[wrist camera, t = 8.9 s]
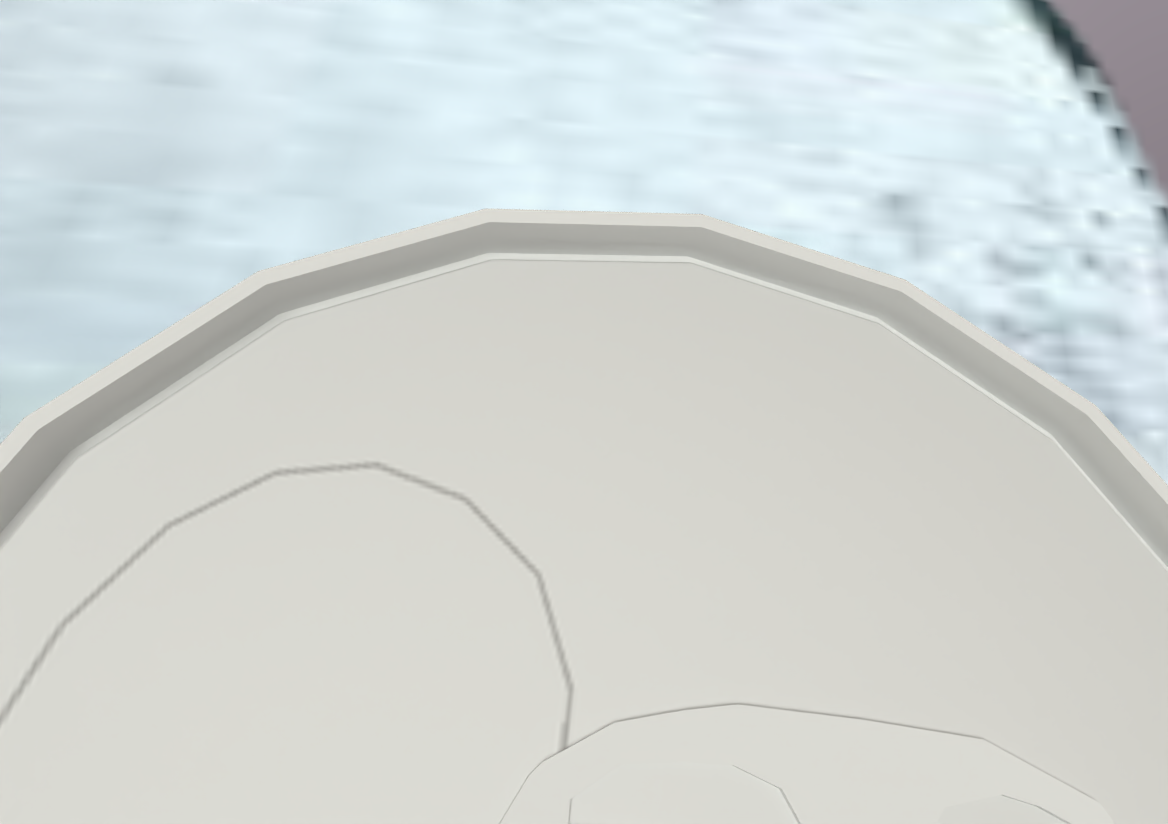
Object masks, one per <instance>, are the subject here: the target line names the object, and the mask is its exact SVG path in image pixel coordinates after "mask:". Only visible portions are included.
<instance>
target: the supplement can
mask: <svg viewBox="0 0 1168 824" xmlns="http://www.w3.org/2000/svg"><path fill="white" fill-rule="evenodd" d="M0 824H1168V485H1167V484H1166V483H1165V482H1164V481H1163V479H1162V478H1161V477H1160V476H1159V475H1158V474H1157V473H1156V472H1155V471H1154V469H1153V468H1152V467H1151V466H1150V465H1149V464H1148V463H1147V462H1146V461H1145V460H1144V458H1143V457H1142V456H1141V455H1140V454H1139V453H1138V452H1137V451H1136V450H1135V448H1134V447H1133V446H1132V445H1131V444H1130V443H1129V442H1128V441H1127V440H1126V438H1125V437H1124V436H1123V435H1122V434H1121V433H1120V432H1119V431H1118V430H1117V429H1116V427H1115V426H1114V425H1113V424H1112V423H1111V422H1110V421H1109V420H1108V419H1107V417H1106V416H1105V415H1104V414H1103V413H1102V412H1101V411H1100V410H1099V409H1098V408H1097V406H1096V405H1094V404H1093V403H1091V402H1090V401H1088V400H1087V399H1085V398H1084V397H1082V396H1081V395H1079V394H1078V393H1076V392H1075V391H1073V390H1072V389H1070V388H1069V387H1067V386H1066V385H1064V384H1063V383H1061V382H1060V381H1058V380H1057V379H1055V378H1053V377H1052V376H1050V375H1049V374H1047V373H1046V372H1044V371H1043V370H1041V369H1040V368H1038V367H1037V366H1035V365H1034V364H1032V363H1031V362H1029V361H1028V360H1026V359H1025V358H1023V357H1022V356H1020V355H1019V354H1017V353H1016V352H1014V351H1013V350H1011V349H1010V348H1008V347H1007V346H1005V345H1003V344H1002V343H1000V342H999V341H997V340H996V339H994V338H993V337H991V336H990V335H988V334H987V333H985V332H984V331H982V330H981V329H979V328H978V327H976V326H975V325H973V324H972V323H970V322H969V321H967V320H966V319H964V318H963V317H961V316H960V315H958V314H957V313H955V312H954V311H952V310H950V309H949V308H947V307H946V306H944V305H943V304H941V303H940V302H938V301H937V300H935V299H934V298H932V297H931V296H929V295H928V294H926V293H925V292H923V291H922V290H920V289H919V288H917V287H916V286H914V285H913V284H911V283H910V282H908V281H907V280H904V279H901V278H898V277H895V276H892V275H889V274H886V273H883V272H880V271H876V270H873V269H870V268H867V267H864V266H861V265H858V264H855V263H852V262H849V261H845V260H842V259H839V258H836V257H833V256H830V255H827V254H824V253H821V252H818V251H815V250H811V249H808V248H805V247H802V246H799V245H796V244H793V243H790V242H787V241H784V240H780V239H777V238H774V237H771V236H768V235H765V234H762V233H759V232H756V231H753V230H750V229H746V228H743V227H740V226H737V225H734V224H731V223H728V222H725V221H722V220H719V219H715V218H712V217H709V216H706V215H703V214H677V213H637V212H598V211H559V210H520V209H482V210H479V211H475V212H472V213H468V214H464V215H461V216H457V217H453V218H450V219H446V220H442V221H439V222H435V223H432V224H428V225H424V226H421V227H417V228H413V229H410V230H406V231H403V232H399V233H395V234H392V235H388V236H384V237H381V238H377V239H373V240H370V241H366V242H363V243H359V244H355V245H352V246H348V247H344V248H341V249H337V250H333V251H330V252H326V253H323V254H319V255H315V256H312V257H308V258H304V259H301V260H297V261H294V262H290V263H286V264H283V265H279V266H275V267H272V268H268V269H264V270H261V271H258V272H256V273H254V274H253V275H251V276H250V277H248V278H246V279H245V280H243V281H242V282H240V283H238V284H237V285H235V286H234V287H232V288H231V289H229V290H227V291H226V292H224V293H223V294H221V295H219V296H218V297H216V298H215V299H213V300H211V301H210V302H208V303H207V304H205V305H203V306H202V307H200V308H199V309H197V310H195V311H194V312H192V313H191V314H189V315H187V316H186V317H184V318H183V319H181V320H179V321H178V322H176V323H175V324H173V325H171V326H170V327H168V328H167V329H165V330H164V331H162V332H160V333H159V334H157V335H156V336H154V337H152V338H151V339H149V340H148V341H146V342H144V343H143V344H141V345H140V346H138V347H136V348H135V349H133V350H132V351H130V352H128V353H127V354H125V355H124V356H122V357H120V358H119V359H117V360H116V361H114V362H112V363H111V364H109V365H108V366H106V367H104V368H103V369H101V370H100V371H98V372H97V373H95V374H93V375H92V376H90V377H89V378H87V379H85V380H84V381H82V382H81V383H79V384H77V385H76V386H74V387H73V388H71V389H69V390H68V391H66V392H65V393H63V394H61V395H60V396H58V397H57V398H55V399H53V400H52V401H50V402H49V403H47V404H45V405H44V406H42V407H41V408H39V409H37V410H36V411H34V412H33V413H31V414H29V415H28V416H26V417H25V418H23V419H22V421H21V422H20V423H19V424H18V425H17V426H16V427H15V428H14V430H13V431H12V432H11V433H10V434H9V435H8V436H7V437H6V439H5V440H4V441H3V442H2V443H1V444H0Z"/></svg>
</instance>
